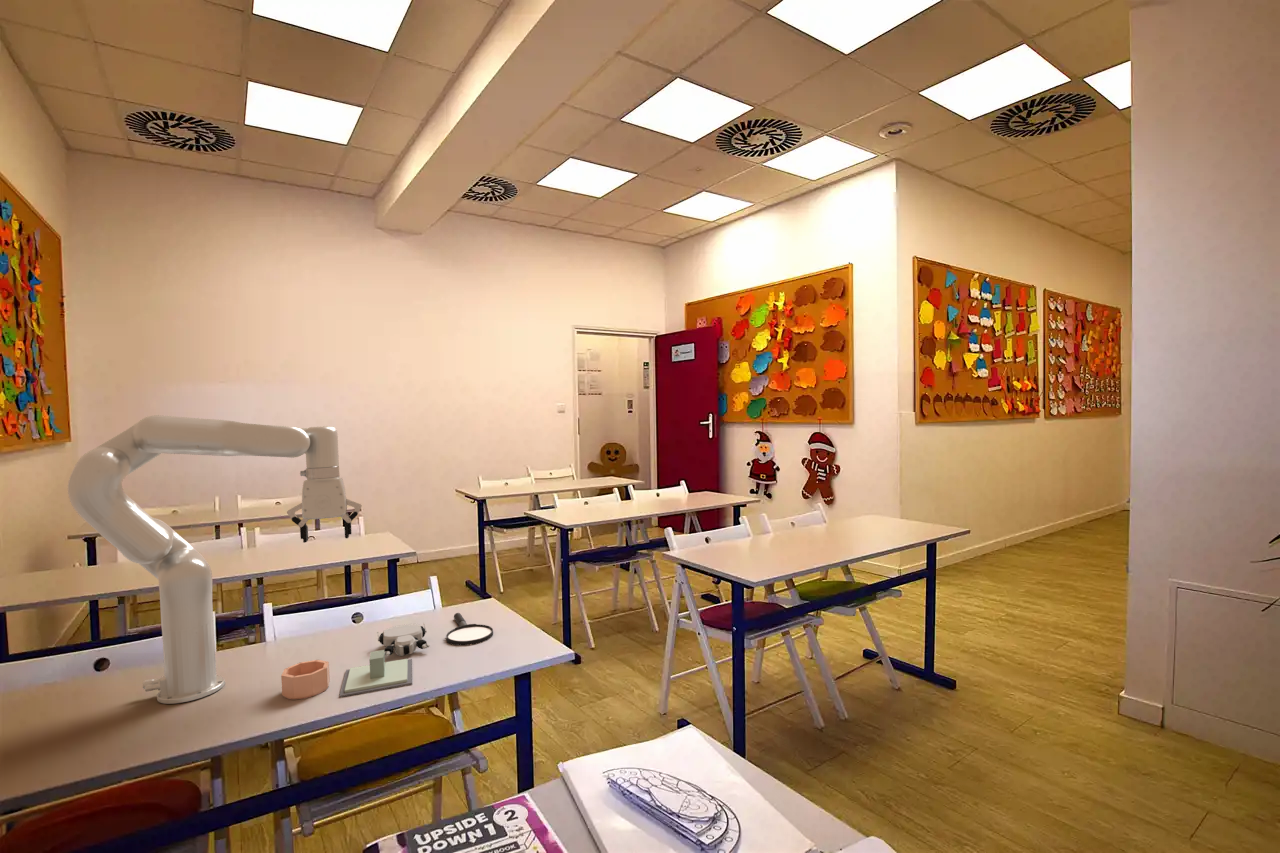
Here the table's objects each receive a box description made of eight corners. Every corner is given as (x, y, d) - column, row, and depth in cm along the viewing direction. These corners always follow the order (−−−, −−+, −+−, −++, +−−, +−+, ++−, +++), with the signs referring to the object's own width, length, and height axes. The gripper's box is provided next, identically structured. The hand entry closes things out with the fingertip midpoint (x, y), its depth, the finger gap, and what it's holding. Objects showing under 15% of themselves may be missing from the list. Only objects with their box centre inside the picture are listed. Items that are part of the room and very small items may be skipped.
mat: (339, 697, 134) (339, 695, 134) (346, 671, 148) (346, 669, 148) (412, 684, 140) (412, 682, 140) (412, 660, 154) (412, 658, 154)
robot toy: (432, 657, 158) (424, 634, 171) (431, 640, 158) (424, 619, 171) (381, 667, 153) (377, 643, 166) (380, 649, 152) (376, 627, 166)
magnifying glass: (478, 615, 187) (478, 608, 187) (498, 642, 166) (498, 634, 166) (436, 623, 182) (435, 616, 182) (451, 651, 160) (450, 643, 160)
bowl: (279, 702, 133) (278, 680, 133) (287, 685, 141) (286, 664, 141) (326, 694, 136) (325, 672, 136) (331, 678, 144) (330, 657, 144)
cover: (344, 692, 136) (343, 670, 135) (350, 670, 148) (349, 649, 148) (407, 681, 140) (406, 659, 140) (407, 660, 152) (406, 640, 152)
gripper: (282, 477, 152) (286, 546, 152) (358, 472, 158) (362, 538, 158) (288, 475, 159) (291, 540, 159) (360, 470, 165) (364, 533, 165)
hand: (326, 539), depth 159 cm, fingers open, 9 cm apart
